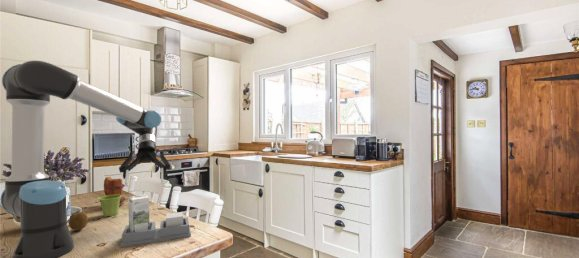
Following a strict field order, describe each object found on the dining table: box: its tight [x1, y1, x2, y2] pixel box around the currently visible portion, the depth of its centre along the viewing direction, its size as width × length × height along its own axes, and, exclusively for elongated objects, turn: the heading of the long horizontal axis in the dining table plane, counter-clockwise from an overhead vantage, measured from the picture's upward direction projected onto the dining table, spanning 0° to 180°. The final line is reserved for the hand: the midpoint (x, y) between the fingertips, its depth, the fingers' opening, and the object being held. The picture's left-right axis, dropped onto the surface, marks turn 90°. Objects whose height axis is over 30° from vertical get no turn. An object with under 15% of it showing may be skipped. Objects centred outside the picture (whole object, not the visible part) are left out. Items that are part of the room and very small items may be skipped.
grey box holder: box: [119, 211, 192, 248], centre depth 108 cm, size 23×11×7 cm, turn 112°
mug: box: [103, 176, 126, 207], centre depth 154 cm, size 15×8×15 cm, turn 58°
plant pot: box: [97, 195, 122, 218], centre depth 137 cm, size 9×9×9 cm
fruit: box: [68, 210, 89, 232], centre depth 116 cm, size 6×6×8 cm
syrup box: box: [128, 194, 150, 233], centre depth 106 cm, size 6×6×14 cm
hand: (144, 183), depth 122 cm, fingers open, 13 cm apart
